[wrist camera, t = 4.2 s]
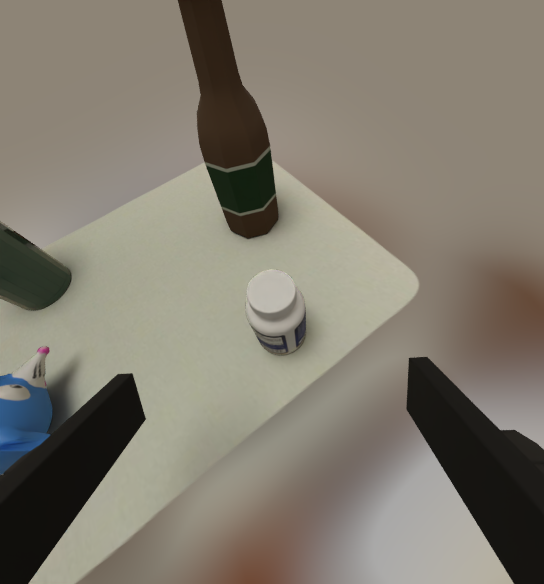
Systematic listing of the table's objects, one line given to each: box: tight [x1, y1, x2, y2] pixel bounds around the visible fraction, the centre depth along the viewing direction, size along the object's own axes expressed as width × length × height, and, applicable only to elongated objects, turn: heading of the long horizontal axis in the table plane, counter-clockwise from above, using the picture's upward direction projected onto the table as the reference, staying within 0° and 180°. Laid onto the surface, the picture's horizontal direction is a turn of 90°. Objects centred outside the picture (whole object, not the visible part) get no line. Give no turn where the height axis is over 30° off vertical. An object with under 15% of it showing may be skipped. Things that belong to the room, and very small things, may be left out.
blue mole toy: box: [0, 346, 52, 475], centre depth 24 cm, size 12×12×8 cm
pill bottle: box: [245, 269, 306, 355], centre depth 24 cm, size 5×5×10 cm
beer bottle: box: [178, 0, 278, 238], centre depth 27 cm, size 8×8×24 cm
